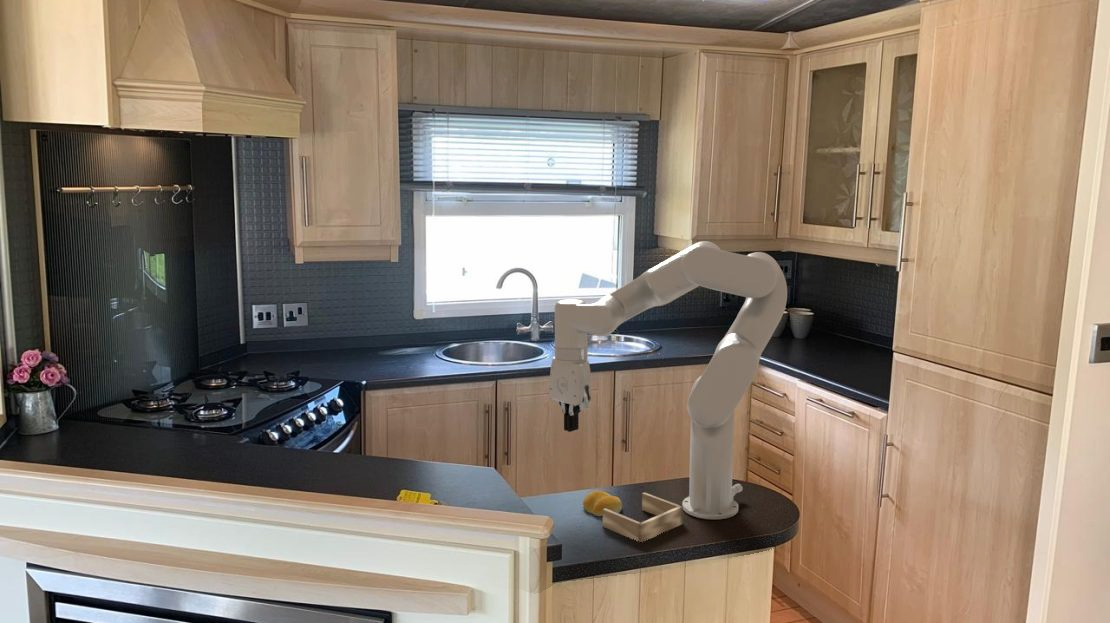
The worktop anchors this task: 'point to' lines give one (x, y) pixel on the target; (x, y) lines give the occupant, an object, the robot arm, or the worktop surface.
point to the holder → (664, 520)
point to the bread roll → (601, 503)
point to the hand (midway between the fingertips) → (571, 429)
